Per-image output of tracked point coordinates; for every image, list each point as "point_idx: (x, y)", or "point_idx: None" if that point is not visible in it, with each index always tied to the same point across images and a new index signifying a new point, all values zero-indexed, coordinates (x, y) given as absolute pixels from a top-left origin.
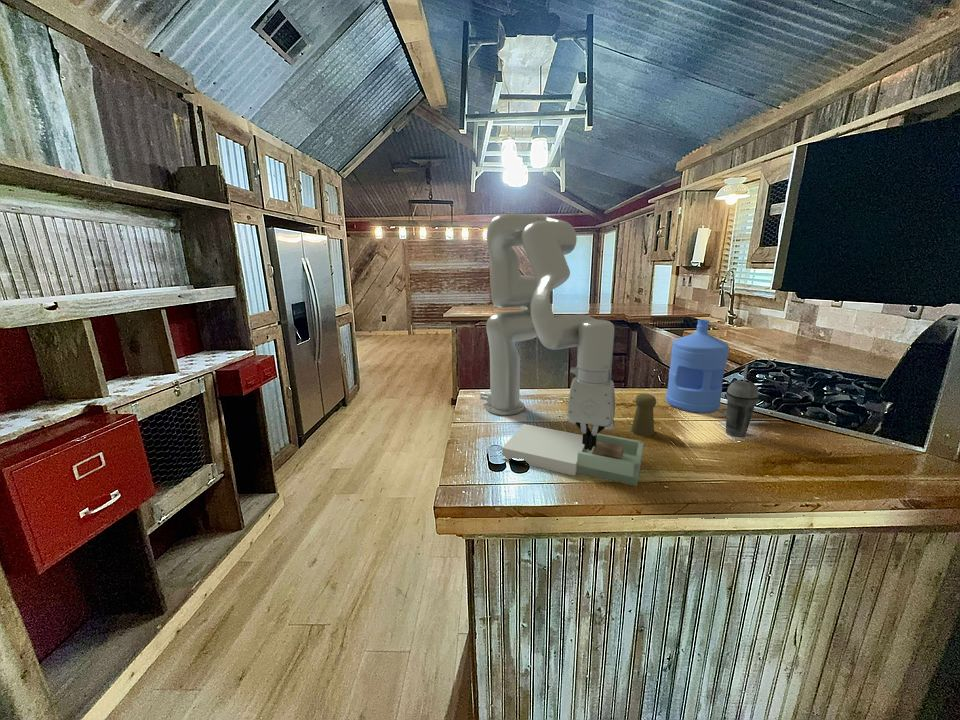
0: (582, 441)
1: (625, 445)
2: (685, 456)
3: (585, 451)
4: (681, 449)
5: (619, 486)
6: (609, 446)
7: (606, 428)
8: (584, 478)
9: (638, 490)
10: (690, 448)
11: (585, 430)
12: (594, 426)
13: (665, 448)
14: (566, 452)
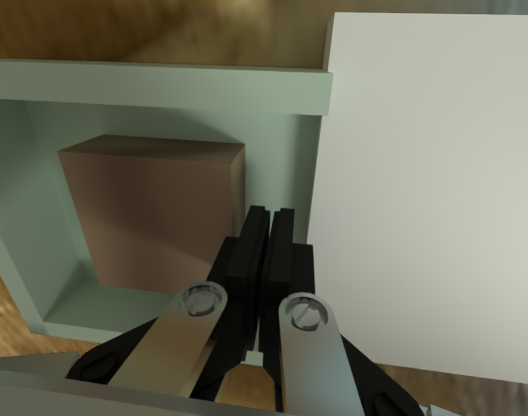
0: (312, 253)
1: (117, 306)
2: (6, 317)
3: (294, 239)
4: (31, 347)
5: (93, 21)
6: (157, 264)
7: (55, 364)
8: (271, 21)
9: (12, 24)
10: (16, 355)
11: (287, 323)
12: (166, 376)
13: (67, 344)
14: (410, 164)
